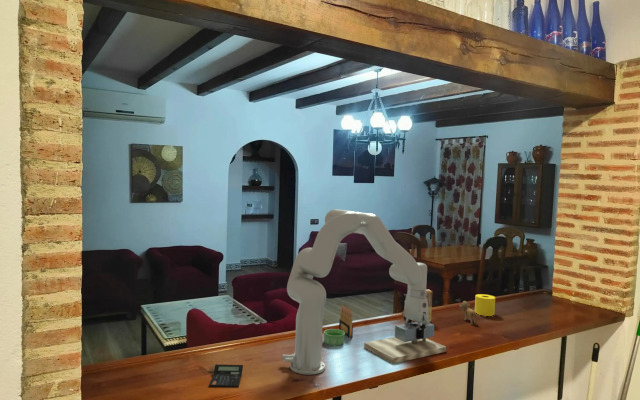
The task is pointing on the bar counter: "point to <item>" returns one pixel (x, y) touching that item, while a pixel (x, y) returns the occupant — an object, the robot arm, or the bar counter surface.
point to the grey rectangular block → (412, 331)
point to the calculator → (226, 376)
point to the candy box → (429, 303)
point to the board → (404, 349)
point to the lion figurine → (468, 312)
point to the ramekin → (334, 337)
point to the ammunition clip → (346, 321)
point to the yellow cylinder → (484, 304)
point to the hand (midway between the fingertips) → (414, 335)
